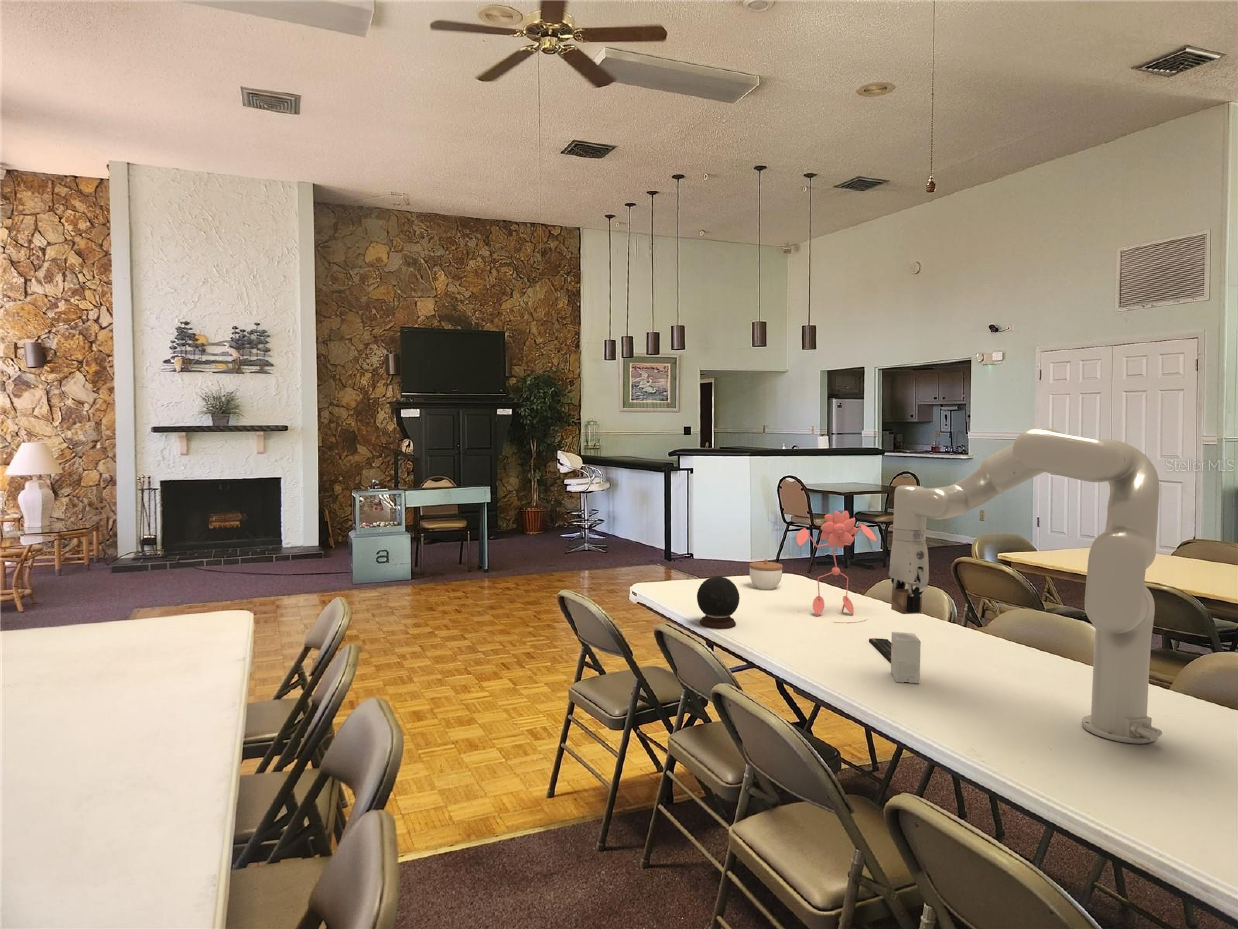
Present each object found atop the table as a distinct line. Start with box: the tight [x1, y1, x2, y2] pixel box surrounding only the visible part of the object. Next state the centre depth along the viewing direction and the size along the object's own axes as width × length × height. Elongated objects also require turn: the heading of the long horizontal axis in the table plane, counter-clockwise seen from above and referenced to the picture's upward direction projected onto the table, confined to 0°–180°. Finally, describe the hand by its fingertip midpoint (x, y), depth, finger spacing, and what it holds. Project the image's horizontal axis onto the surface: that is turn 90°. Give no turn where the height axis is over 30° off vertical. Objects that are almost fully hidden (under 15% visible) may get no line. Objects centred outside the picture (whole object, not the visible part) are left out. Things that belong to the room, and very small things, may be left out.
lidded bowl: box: [748, 558, 784, 591], centre depth 289 cm, size 13×13×11 cm
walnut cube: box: [890, 588, 923, 615], centre depth 186 cm, size 5×5×5 cm
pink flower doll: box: [796, 510, 878, 624], centre depth 245 cm, size 15×26×35 cm, turn 95°
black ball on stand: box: [696, 575, 740, 630], centre depth 235 cm, size 13×13×15 cm
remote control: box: [868, 637, 892, 664], centre depth 207 cm, size 5×24×1 cm, turn 177°
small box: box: [890, 631, 922, 684], centre depth 186 cm, size 8×6×10 cm
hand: (906, 608), depth 186 cm, fingers closed on walnut cube, 4 cm apart
